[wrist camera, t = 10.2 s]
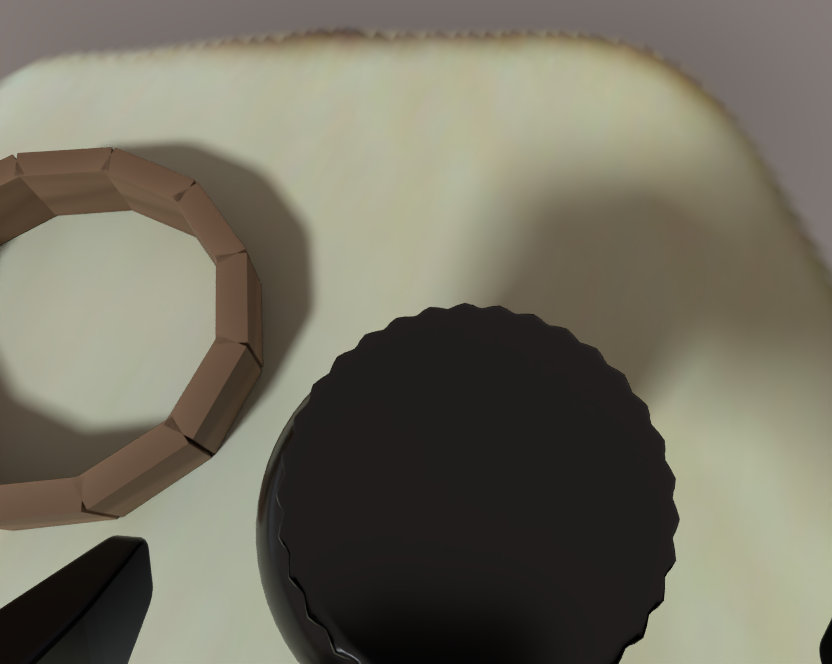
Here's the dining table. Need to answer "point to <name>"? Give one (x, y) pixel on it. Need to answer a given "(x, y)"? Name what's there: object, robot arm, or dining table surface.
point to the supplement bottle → (466, 500)
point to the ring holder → (215, 377)
